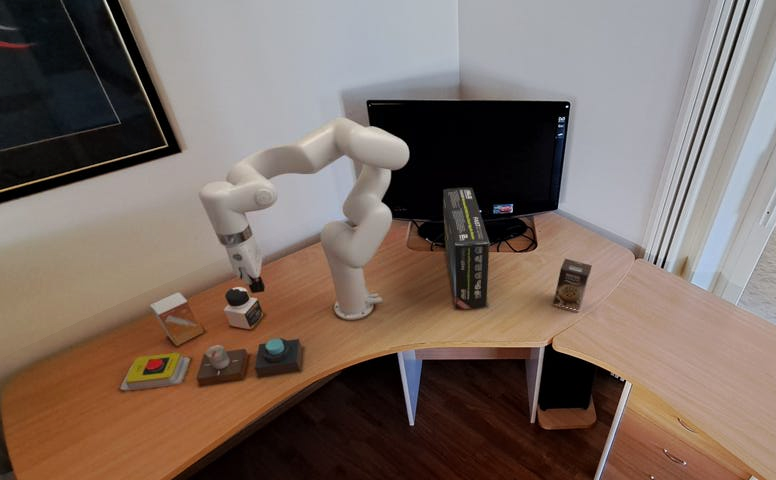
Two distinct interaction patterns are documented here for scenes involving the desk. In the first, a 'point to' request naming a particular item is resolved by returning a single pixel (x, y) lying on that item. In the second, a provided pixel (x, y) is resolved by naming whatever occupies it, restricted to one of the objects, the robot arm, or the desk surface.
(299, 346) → the button housing
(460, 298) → the router box
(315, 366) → the desk surface
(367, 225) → the robot arm
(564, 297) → the coffee box
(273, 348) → the teal button cap
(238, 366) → the rotary knob switch
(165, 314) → the small box
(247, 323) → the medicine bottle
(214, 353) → the dial
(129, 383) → the emergency button
